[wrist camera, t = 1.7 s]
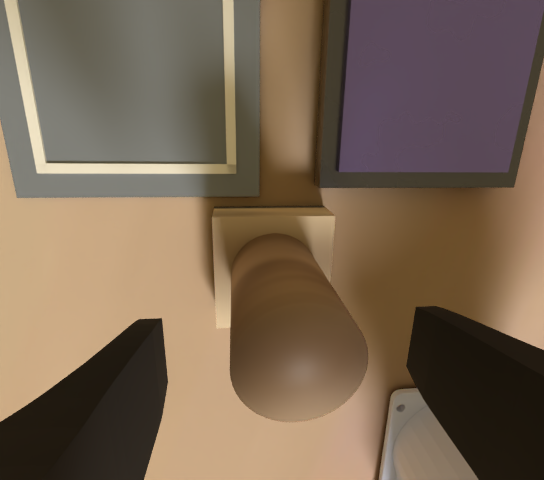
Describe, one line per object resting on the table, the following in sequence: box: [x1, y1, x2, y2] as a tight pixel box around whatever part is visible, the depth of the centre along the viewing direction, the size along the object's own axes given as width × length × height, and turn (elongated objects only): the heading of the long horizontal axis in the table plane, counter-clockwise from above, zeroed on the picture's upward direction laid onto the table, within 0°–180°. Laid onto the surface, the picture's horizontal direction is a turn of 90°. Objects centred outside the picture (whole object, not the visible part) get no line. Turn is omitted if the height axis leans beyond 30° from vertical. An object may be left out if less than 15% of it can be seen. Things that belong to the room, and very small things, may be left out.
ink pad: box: [314, 0, 544, 188], centre depth 14 cm, size 9×9×1 cm
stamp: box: [212, 206, 368, 422], centre depth 13 cm, size 5×5×8 cm
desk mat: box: [0, 0, 260, 198], centre depth 13 cm, size 10×10×1 cm
